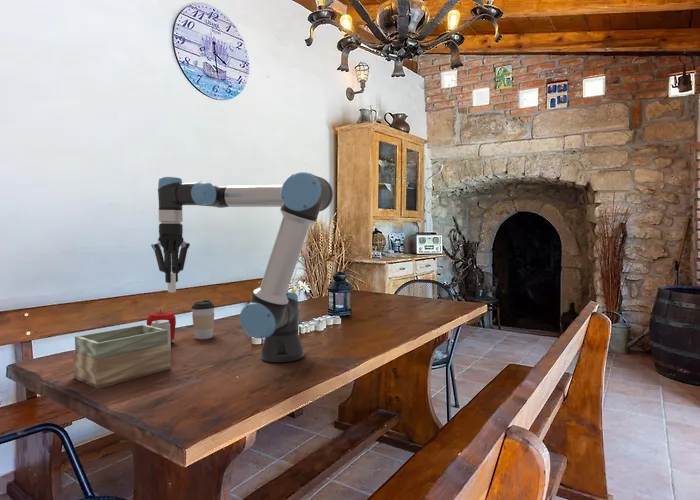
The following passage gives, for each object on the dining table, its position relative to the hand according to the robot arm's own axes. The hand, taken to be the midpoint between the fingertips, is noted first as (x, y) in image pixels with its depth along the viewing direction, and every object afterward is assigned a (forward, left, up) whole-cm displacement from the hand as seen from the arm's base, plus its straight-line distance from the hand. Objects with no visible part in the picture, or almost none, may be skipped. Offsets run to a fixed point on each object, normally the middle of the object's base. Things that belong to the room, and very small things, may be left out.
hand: (171, 291), depth 154 cm
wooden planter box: (-3, +18, -23) cm, 30 cm away
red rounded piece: (+21, -8, -23) cm, 32 cm away
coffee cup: (+17, -24, -23) cm, 37 cm away
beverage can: (+8, 0, -23) cm, 24 cm away
